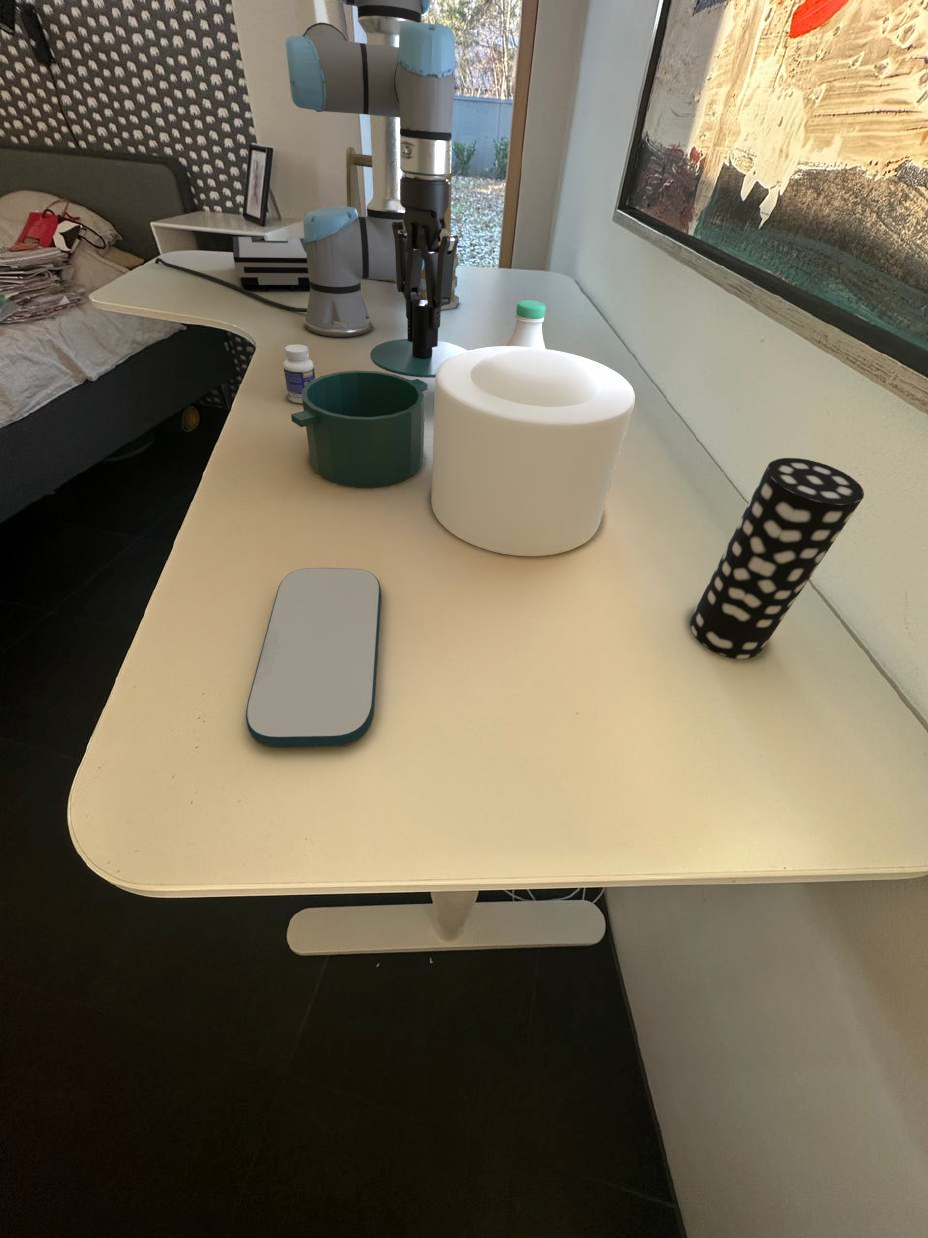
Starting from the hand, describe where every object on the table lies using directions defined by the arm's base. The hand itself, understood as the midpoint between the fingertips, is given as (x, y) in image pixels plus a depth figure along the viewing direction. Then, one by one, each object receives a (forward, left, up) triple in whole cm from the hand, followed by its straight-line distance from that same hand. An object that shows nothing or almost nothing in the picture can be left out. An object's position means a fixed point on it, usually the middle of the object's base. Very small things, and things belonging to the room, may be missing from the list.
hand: (422, 343), depth 98 cm
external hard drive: (+42, -51, -11) cm, 67 cm away
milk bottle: (+18, +7, -11) cm, 22 cm away
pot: (+12, -22, -10) cm, 27 cm away
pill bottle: (-14, -17, -11) cm, 24 cm away
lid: (0, 0, -3) cm, 3 cm away
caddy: (-74, +55, -11) cm, 93 cm away
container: (+36, -13, -11) cm, 40 cm away
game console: (-91, +23, -11) cm, 95 cm away
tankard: (-51, +45, -11) cm, 69 cm away
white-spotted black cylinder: (+70, -14, -11) cm, 72 cm away
